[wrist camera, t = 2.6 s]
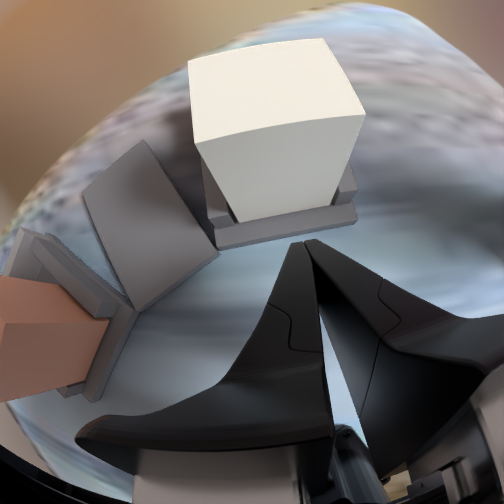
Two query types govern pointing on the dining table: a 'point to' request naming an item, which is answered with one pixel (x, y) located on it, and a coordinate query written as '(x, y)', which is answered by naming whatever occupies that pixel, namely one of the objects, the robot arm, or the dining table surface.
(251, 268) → the dining table surface
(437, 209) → the dining table surface
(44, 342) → the terracotta key
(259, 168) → the cream key
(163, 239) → the grey tray
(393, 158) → the dining table surface
